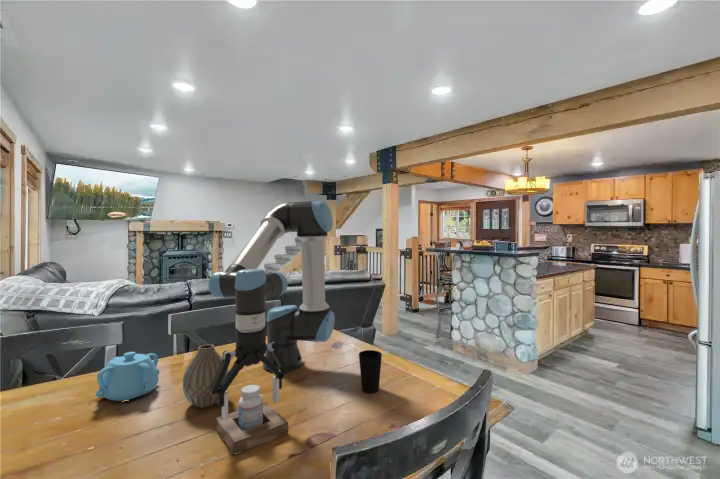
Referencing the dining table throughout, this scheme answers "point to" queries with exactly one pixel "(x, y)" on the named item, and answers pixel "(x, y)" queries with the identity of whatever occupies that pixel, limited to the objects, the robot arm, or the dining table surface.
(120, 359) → the decorative pot
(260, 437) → the socket block
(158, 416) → the dining table surface
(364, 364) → the cup
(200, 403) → the vase
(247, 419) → the pill bottle
